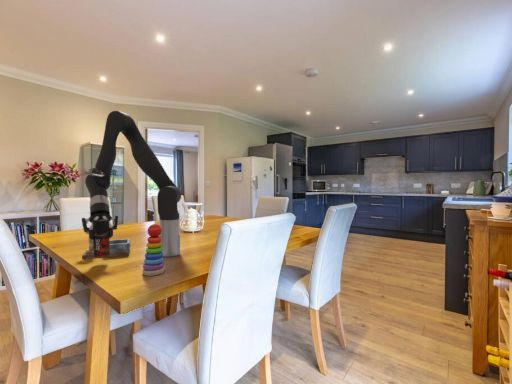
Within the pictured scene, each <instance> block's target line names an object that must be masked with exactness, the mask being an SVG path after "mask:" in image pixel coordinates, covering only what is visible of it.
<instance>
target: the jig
mask: <svg viewBox="0 0 512 384" xmlns="http://www.w3.org/2000/svg"><path fill="white" fill-rule="evenodd" d="M85 235H89V232H85ZM130 251H131V238H123V239H110V255H108V256H105V257H106V258H107V257H116V256H118V257H119V256H128V255H130ZM105 257H104V258H105ZM81 258H82V259H81V260H84V259H94V258H95V259H96V258H98V257H94V250H93V240H91V239H90V238H89V237H88V249H85V251H84V253H83V254H82V255H81Z"/></svg>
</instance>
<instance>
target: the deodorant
mask: <svg viewBox="0 0 512 384" xmlns="http://www.w3.org/2000/svg"><path fill="white" fill-rule="evenodd" d="M110 240H111V238H109V219H99V220H93V250H94V257H97V258H105V256H108V255H110ZM108 257H109V256H108Z"/></svg>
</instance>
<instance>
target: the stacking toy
mask: <svg viewBox="0 0 512 384" xmlns="http://www.w3.org/2000/svg"><path fill="white" fill-rule="evenodd" d="M161 232H162V229H161V227H160V226H159V224H156V223H154V224H150V225H149V226H148V228H147V235H148V236H149V237H147V243H146V249H145V253H144V259H143V265H142V270H141V272H142V275H144V276H148V277H149V276H150V277H153V276H159V275H162V274H164V273H165V267H164V266H165V263H164V260H165V259H164V257H163V253H162V250H163V249H162V247H161V246H162V243H161V242H160V241H161V237H160V236H159V235H160V234H161Z"/></svg>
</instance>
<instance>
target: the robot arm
mask: <svg viewBox="0 0 512 384" xmlns="http://www.w3.org/2000/svg"><path fill="white" fill-rule="evenodd" d="M103 132H104V133H103V139H102V144H101V148H100V151H99V155H98V157H97V160H96V163H95V167H94V168H95V169H96V170H97V171H99V172H101V173H104V174H103V175H101V174H97V173H88V174H87V175H86V177H85V178H84V182H85V183H84V184H85V187H86V189H87V191H88V193H89V196H90V197H89V198H90V200H89V217H88V218H85V217H82V218H81V224H82V225H81V226H82V228H83V232H84V233H86V232H89V234H88V239H89V238H90V239H91V240H93V220H99V219H109V239H112V237H114V230H115V231H116V230H117V229H118V223H119V222H118V221H119V215H114V216H112V215H111V212H110V210H111V209H110V201H109V196H108V189H109V188H110V186H111V176H112V170H113V167H114V163H115V161H116V158H117V139H118V137H119V134H120V133H122V135H124V138H125V139H126V140H127V142H128V143H129V145H130V149H131V154H132V157H133V159H134V160H135V163H136V164H137V166H138V167H139V169H140V170H141V171H142V172H143V173H144V174H145V175H146V176H147V177H148V178H149V179H150V180H152V181H153V183H154V184H155V185H156V187H157V189H158V192H157V198H156V199H157V200H156V201H157V214H158V216H159V223H158V225H159V226H160V227H161V229H162V232H161V234H160V235H159V236H160V237H161V241H160V242H161V243H162V246H161V247H162V249H163V250H162V253H163V256H162V257H163V258H165V257H166V258H167V257H168V258H169V257H176V256H180V255H181V234H180V213H179V210H178V203H179V202H180V201H181V198H182V193H181V190H180V189H179V187H178V186H177V185H176V184H175V183H174V182H173V180H172V179H171V178H170V176H169V175H168V173H167V172H166V170H165V168H164V166H163V165H162V163H161V162H160V160H159V158H158V157H157V156H156V153H154V151H153V149H152V148H151V146H150V145H149V143H148V142H147V141H146V139H145V138H144V137H143V135H142V134H141V132H140V130H139V128H138V126H137V124H136V122H135V120H134V118H132V116H131V115H130V114H127V113H125V112H122V111H119V110H112V111H110V112H109V114H108V115H107V118H106V121H105V128H104V131H103ZM111 221H112V222H114V225H112V224H111ZM88 222H89V223H90V224H91V225H90V226H87V224H89V223H88Z"/></svg>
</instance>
